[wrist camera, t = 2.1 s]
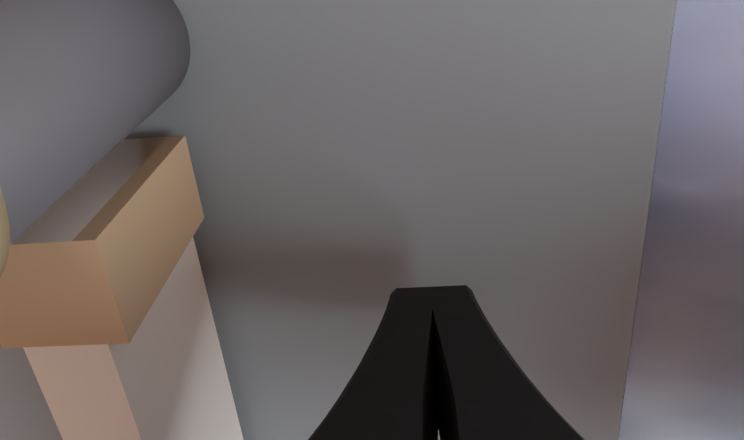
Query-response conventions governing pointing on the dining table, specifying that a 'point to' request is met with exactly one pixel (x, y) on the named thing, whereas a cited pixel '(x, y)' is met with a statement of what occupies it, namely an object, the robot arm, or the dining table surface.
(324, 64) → the gate frame
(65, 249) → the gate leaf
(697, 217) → the dining table surface
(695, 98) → the dining table surface
